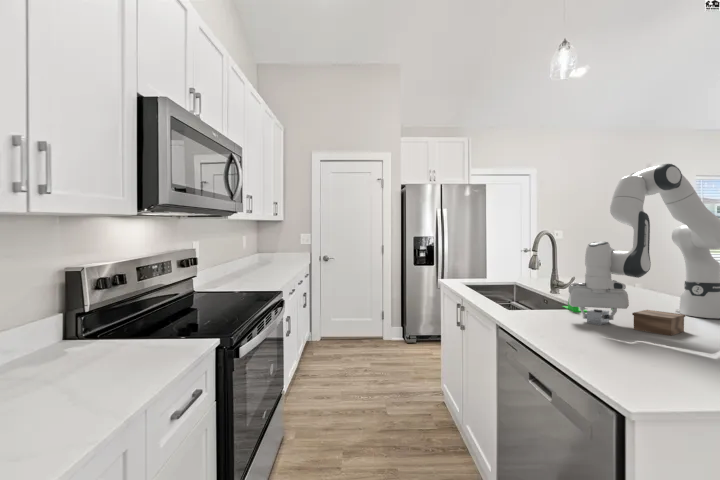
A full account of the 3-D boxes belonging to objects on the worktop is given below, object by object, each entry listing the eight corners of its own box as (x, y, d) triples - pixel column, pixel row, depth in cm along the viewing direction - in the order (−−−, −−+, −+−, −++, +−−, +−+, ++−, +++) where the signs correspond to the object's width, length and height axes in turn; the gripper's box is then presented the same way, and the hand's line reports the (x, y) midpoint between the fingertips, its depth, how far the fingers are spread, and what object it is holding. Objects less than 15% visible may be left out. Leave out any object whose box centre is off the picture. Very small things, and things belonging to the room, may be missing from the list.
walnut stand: (646, 325, 154) (646, 309, 154) (685, 331, 144) (685, 314, 144) (632, 329, 148) (632, 312, 148) (671, 335, 138) (671, 318, 138)
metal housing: (595, 321, 162) (595, 308, 162) (609, 323, 158) (609, 309, 158) (586, 324, 157) (586, 310, 157) (601, 326, 153) (601, 312, 153)
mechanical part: (588, 315, 175) (588, 297, 175) (573, 315, 176) (573, 296, 176) (575, 310, 187) (575, 293, 187) (562, 310, 188) (562, 293, 188)
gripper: (570, 283, 157) (570, 319, 157) (630, 285, 152) (630, 322, 152) (566, 281, 163) (566, 316, 163) (624, 283, 158) (624, 318, 158)
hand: (597, 319), depth 157 cm, fingers closed on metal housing, 7 cm apart
